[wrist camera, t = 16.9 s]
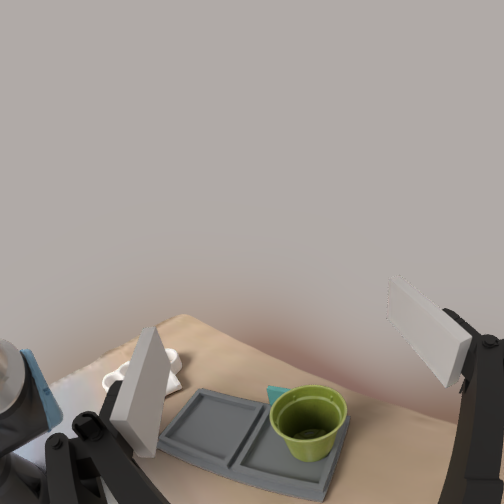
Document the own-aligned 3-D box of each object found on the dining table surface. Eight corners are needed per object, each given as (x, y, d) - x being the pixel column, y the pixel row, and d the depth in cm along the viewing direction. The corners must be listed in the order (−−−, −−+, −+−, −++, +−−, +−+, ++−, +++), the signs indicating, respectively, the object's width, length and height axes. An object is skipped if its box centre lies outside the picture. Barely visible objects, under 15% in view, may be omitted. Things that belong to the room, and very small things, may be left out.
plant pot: (274, 427, 38) (266, 392, 36) (335, 414, 38) (336, 377, 35) (281, 477, 30) (273, 448, 27) (351, 462, 29) (356, 430, 27)
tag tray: (156, 448, 37) (141, 427, 35) (203, 390, 50) (194, 368, 48) (322, 502, 25) (322, 487, 23) (350, 418, 38) (352, 395, 36)
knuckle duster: (117, 422, 43) (104, 380, 55) (198, 384, 52) (172, 350, 64) (109, 410, 42) (98, 369, 54) (193, 372, 51) (167, 339, 63)
